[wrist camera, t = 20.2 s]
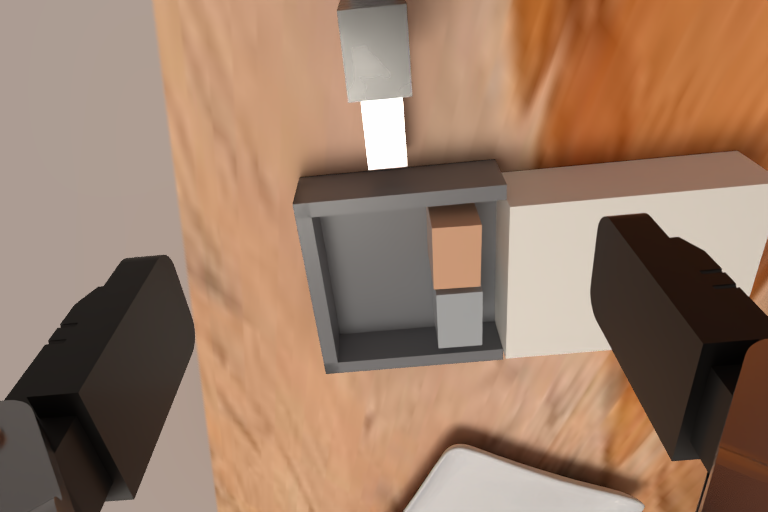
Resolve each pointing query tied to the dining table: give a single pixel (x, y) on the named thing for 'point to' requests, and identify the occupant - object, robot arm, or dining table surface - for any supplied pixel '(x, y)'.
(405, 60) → the scraper
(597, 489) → the salad plate
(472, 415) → the dining table surface
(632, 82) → the dining table surface
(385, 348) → the box
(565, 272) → the long rectangular box
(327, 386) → the dining table surface
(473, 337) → the pale grey box
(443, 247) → the tan block
